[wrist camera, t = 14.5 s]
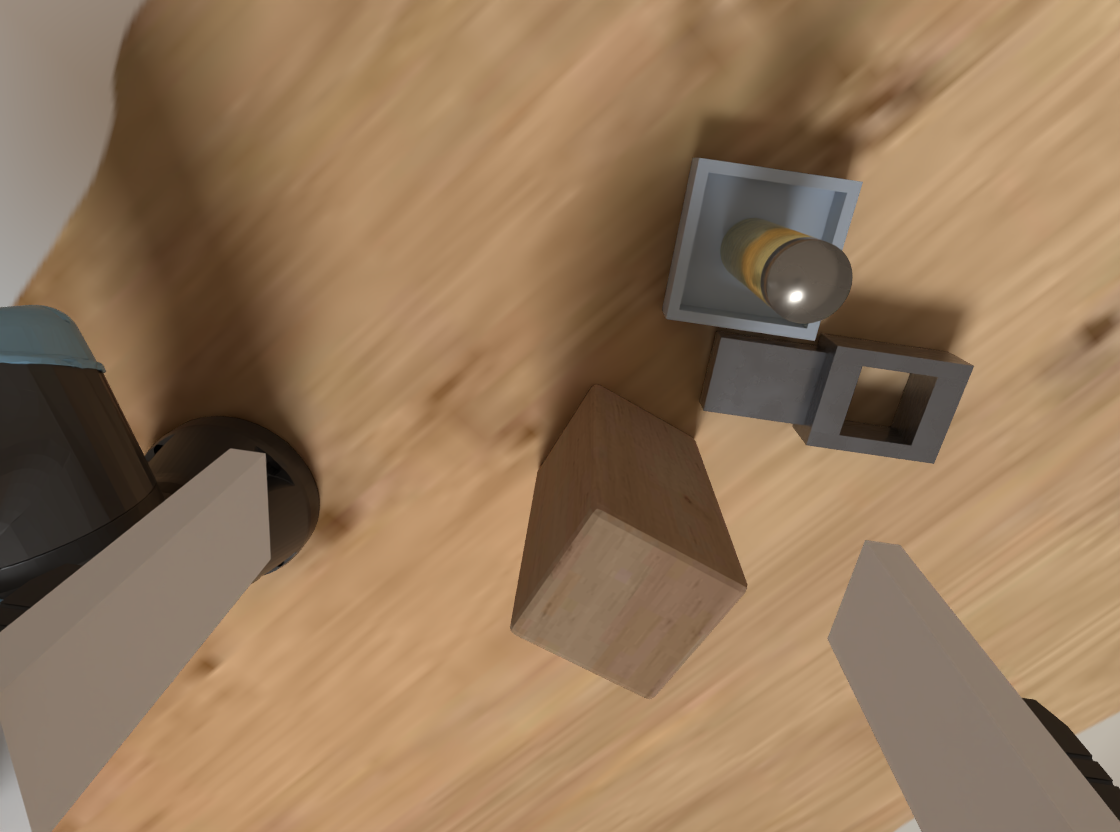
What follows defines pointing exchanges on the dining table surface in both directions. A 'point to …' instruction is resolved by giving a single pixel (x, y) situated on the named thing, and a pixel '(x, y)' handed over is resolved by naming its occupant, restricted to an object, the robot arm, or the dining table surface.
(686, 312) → the tray
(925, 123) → the dining table surface
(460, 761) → the dining table surface
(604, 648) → the wooden block
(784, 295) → the pin
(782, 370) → the bar
